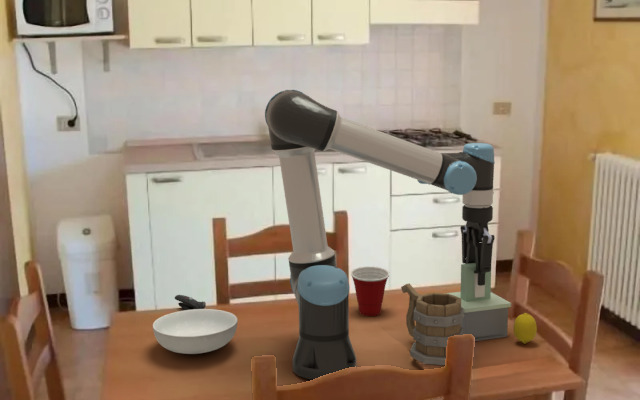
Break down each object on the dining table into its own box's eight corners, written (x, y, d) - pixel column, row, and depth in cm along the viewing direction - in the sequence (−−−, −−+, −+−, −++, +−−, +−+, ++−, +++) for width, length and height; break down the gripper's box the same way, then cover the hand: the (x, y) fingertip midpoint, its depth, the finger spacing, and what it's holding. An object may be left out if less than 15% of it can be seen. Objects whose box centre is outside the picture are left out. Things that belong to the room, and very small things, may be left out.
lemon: (520, 348, 190) (521, 317, 188) (509, 341, 195) (510, 310, 193) (540, 346, 191) (541, 315, 190) (528, 338, 196) (529, 308, 195)
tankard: (475, 358, 184) (477, 297, 182) (433, 369, 178) (434, 306, 175) (424, 333, 201) (425, 277, 199) (383, 342, 195) (384, 284, 192)
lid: (464, 316, 192) (465, 273, 190) (440, 301, 205) (441, 260, 203) (510, 310, 196) (512, 268, 194) (484, 295, 208) (485, 256, 206)
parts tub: (465, 342, 194) (465, 311, 193) (443, 326, 206) (443, 297, 204) (507, 336, 198) (508, 306, 196) (483, 321, 209) (484, 293, 208)
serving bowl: (250, 336, 201) (249, 310, 200) (218, 367, 181) (217, 339, 180) (176, 329, 207) (175, 305, 205) (138, 359, 187) (136, 332, 186)
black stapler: (211, 321, 213) (210, 302, 212) (187, 326, 210) (186, 306, 208) (190, 304, 228) (189, 285, 227) (167, 308, 225) (165, 289, 224)
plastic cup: (354, 320, 211) (353, 278, 209) (347, 308, 222) (347, 267, 220) (393, 318, 213) (393, 276, 210) (385, 306, 223) (385, 265, 221)
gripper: (507, 209, 189) (504, 302, 193) (475, 198, 204) (473, 284, 209) (480, 212, 187) (478, 305, 191) (449, 200, 202) (447, 287, 206)
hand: (475, 294), depth 200 cm, fingers closed on lid, 3 cm apart
